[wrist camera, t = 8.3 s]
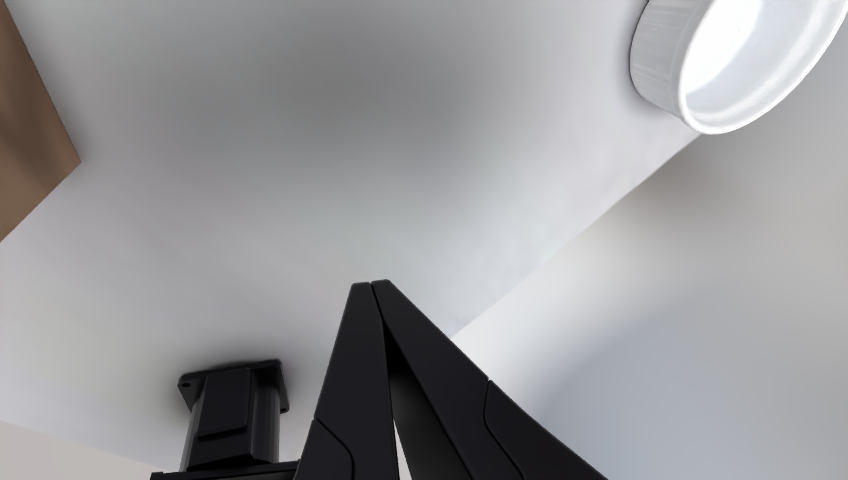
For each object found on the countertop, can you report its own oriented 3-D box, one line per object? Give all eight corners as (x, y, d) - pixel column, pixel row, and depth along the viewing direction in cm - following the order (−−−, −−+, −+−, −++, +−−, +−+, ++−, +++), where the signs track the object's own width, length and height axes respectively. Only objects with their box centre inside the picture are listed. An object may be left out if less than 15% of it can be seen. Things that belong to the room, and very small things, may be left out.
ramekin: (594, 28, 18) (660, 43, 15) (758, -134, 16) (876, -156, 13) (644, 137, 24) (700, 166, 21) (772, 27, 22) (858, 40, 18)
